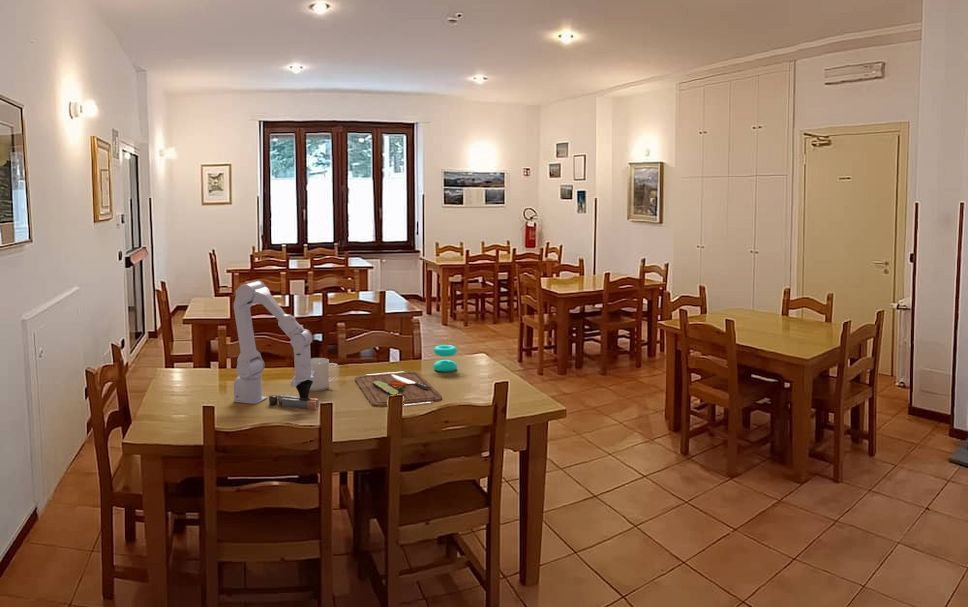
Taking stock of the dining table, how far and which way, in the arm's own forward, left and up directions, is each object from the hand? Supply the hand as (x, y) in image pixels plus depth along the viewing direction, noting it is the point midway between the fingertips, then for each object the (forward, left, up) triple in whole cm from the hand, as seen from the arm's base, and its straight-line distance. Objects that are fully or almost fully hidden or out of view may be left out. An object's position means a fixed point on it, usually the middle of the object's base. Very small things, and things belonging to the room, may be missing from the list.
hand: (304, 400), depth 272 cm
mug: (-4, +22, -2) cm, 22 cm away
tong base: (-3, -2, -2) cm, 4 cm away
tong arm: (-2, -1, -1) cm, 3 cm away
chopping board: (+24, +30, -3) cm, 38 cm away
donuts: (+33, +63, -2) cm, 71 cm away
